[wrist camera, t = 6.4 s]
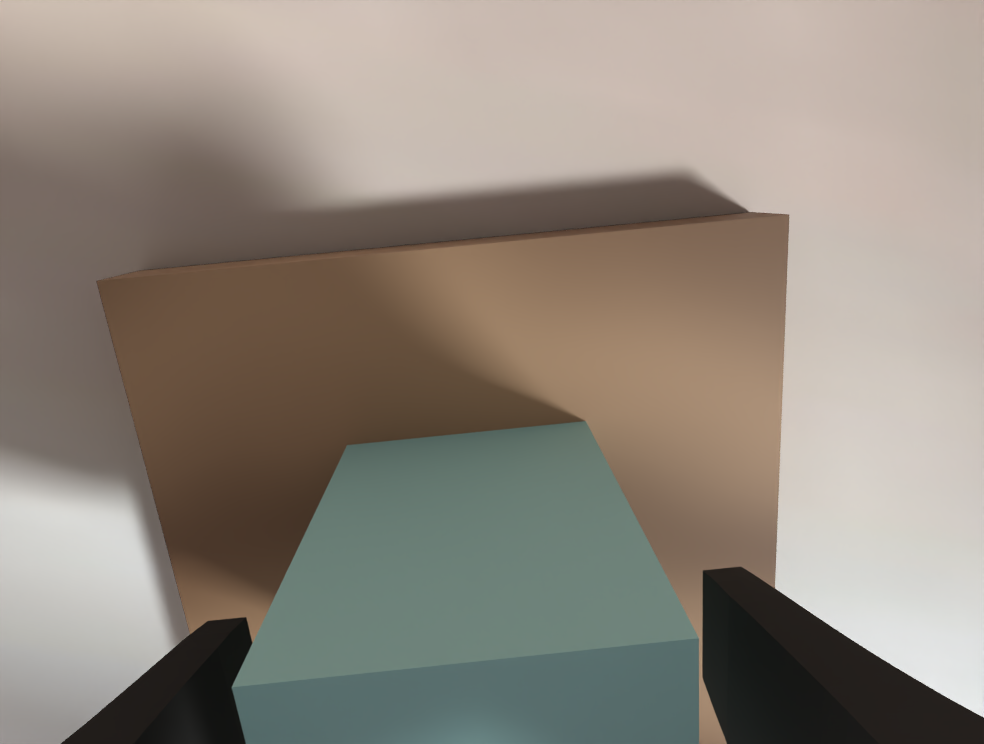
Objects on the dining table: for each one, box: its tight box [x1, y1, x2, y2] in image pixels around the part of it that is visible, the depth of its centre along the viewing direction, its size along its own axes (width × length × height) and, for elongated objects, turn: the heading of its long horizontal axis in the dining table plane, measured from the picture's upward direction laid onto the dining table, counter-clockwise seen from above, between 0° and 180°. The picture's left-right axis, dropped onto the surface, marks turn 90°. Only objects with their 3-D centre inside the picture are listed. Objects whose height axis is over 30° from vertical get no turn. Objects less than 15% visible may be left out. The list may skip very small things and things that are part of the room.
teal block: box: [232, 421, 699, 744], centre depth 10 cm, size 4×4×6 cm
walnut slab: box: [97, 212, 789, 744], centre depth 13 cm, size 12×12×2 cm
